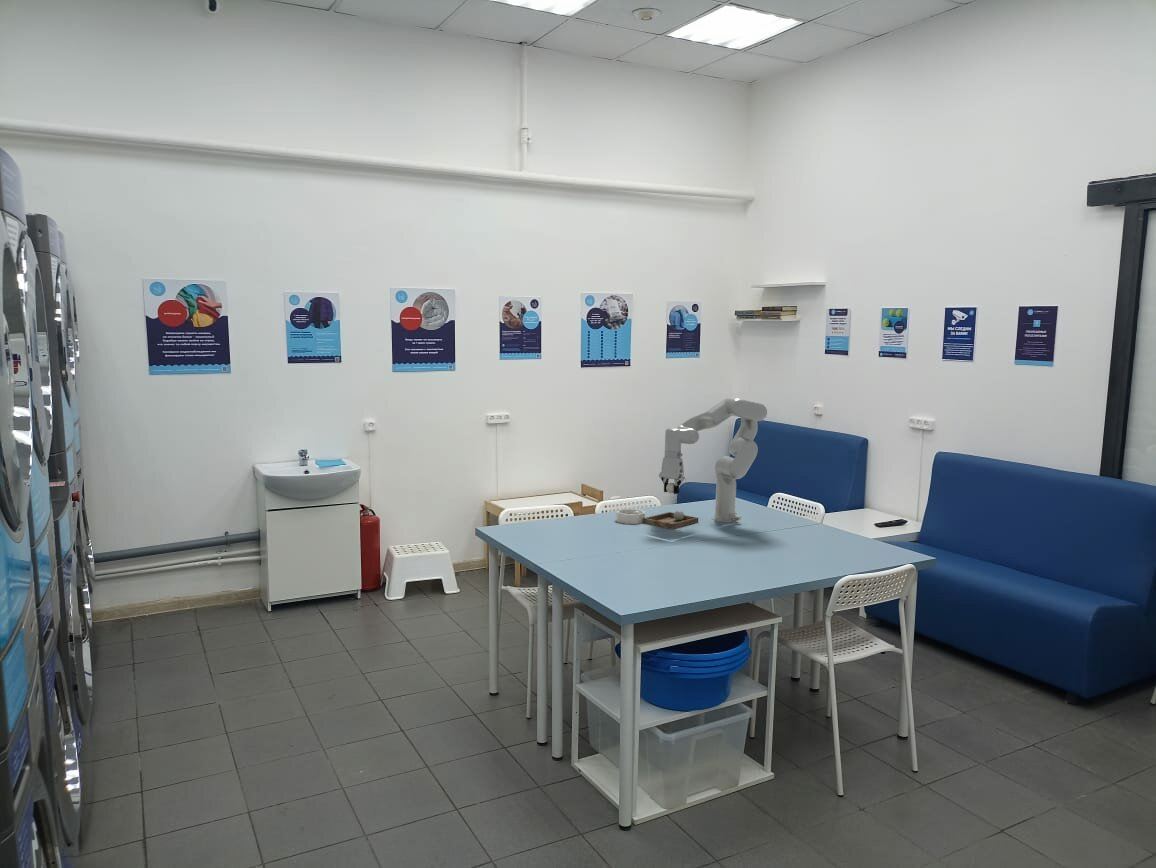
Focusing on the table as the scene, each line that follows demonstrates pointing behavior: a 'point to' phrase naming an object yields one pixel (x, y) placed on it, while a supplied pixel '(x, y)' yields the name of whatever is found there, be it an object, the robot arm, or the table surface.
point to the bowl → (629, 516)
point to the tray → (669, 520)
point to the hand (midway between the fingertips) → (671, 492)
